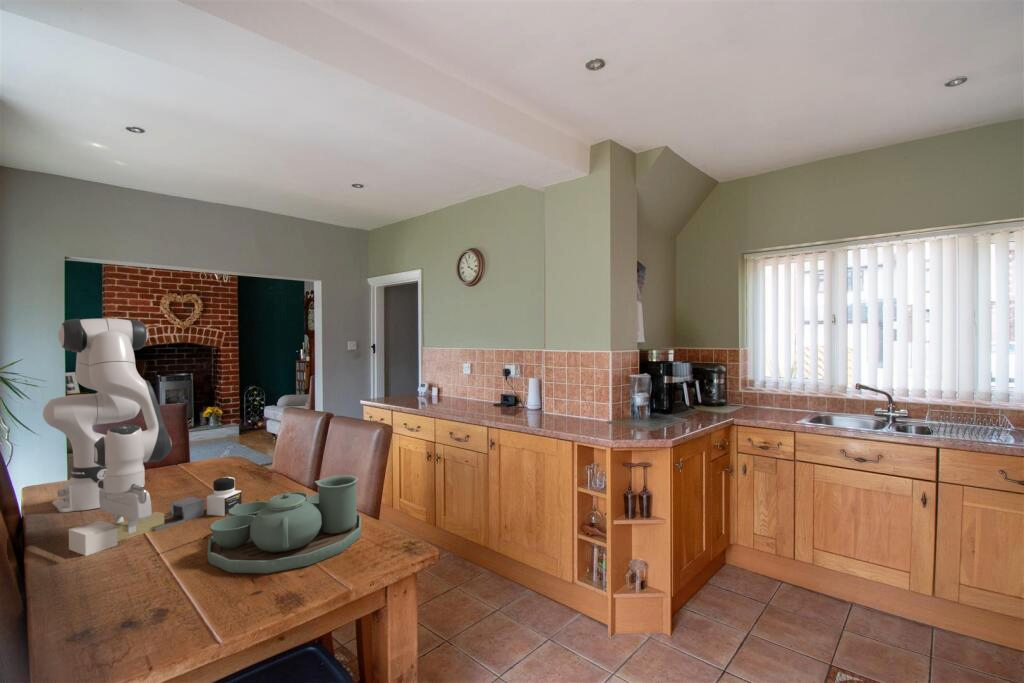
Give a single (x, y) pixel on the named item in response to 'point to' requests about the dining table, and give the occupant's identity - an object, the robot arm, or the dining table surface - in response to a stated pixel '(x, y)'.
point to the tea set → (287, 529)
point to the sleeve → (184, 511)
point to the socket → (92, 537)
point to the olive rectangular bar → (140, 526)
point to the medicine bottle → (223, 497)
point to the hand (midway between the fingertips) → (125, 530)
